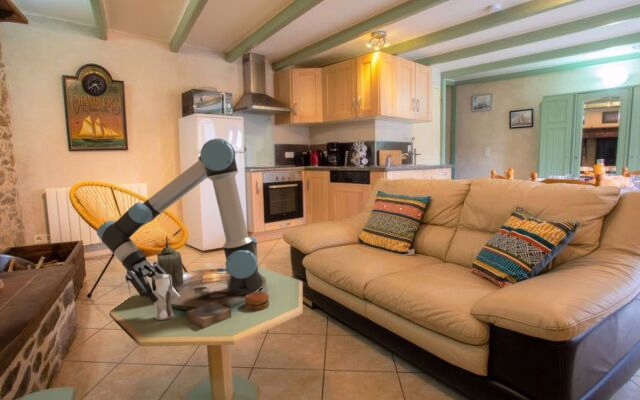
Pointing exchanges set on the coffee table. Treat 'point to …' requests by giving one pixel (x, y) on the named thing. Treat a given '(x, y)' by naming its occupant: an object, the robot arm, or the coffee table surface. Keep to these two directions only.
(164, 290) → the silver metal cup
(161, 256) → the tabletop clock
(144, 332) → the coffee table surface
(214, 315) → the walnut plinth
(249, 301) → the burger
